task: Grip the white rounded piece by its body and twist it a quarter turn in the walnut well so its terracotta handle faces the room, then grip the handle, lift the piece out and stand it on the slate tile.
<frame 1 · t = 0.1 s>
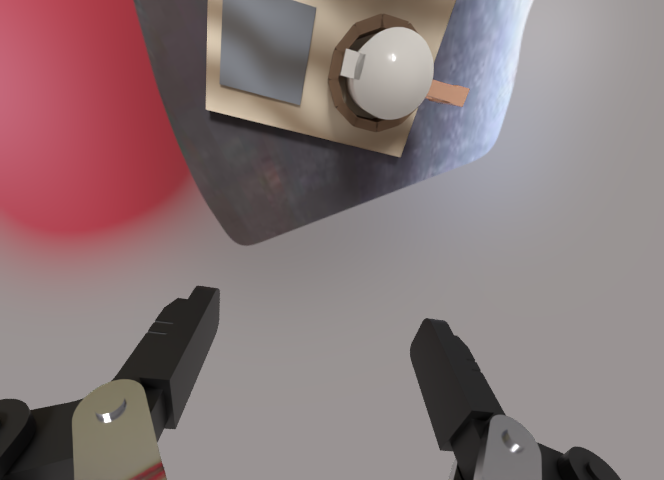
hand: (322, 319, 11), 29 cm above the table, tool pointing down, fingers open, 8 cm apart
serving board: (323, 54, 31), on the table
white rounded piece: (373, 78, 31), point 1 cm above the table, touching serving board
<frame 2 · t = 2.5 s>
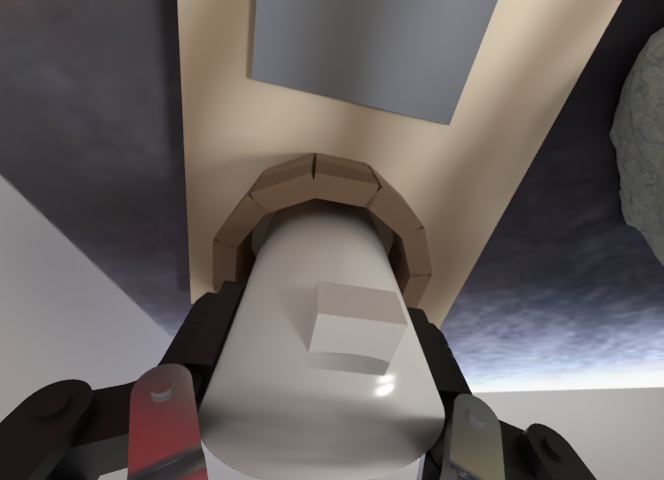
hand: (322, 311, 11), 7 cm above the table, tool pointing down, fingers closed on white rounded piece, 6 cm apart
serving board: (363, 137, 14), on the table
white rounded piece: (322, 243, 16), point 1 cm above the table, touching gripper, serving board
when the fingers open (7 cm above the table, at t = 5.8 s): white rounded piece stays where it is, resting on serving board.
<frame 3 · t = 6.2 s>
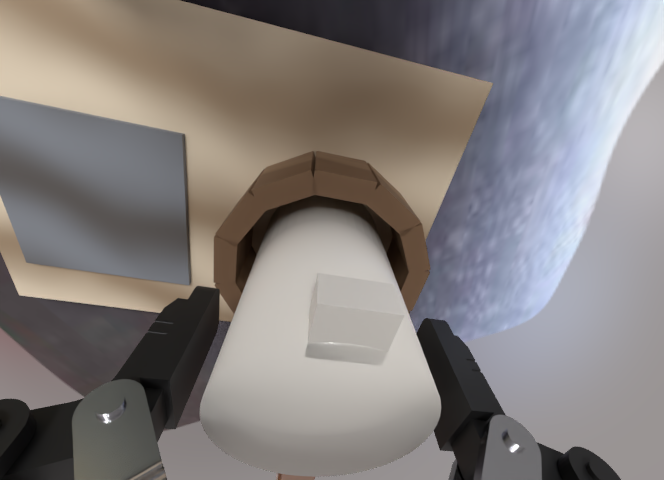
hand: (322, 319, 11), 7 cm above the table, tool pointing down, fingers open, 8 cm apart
serving board: (223, 198, 16), on the table
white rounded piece: (322, 240, 16), point 1 cm above the table, touching serving board
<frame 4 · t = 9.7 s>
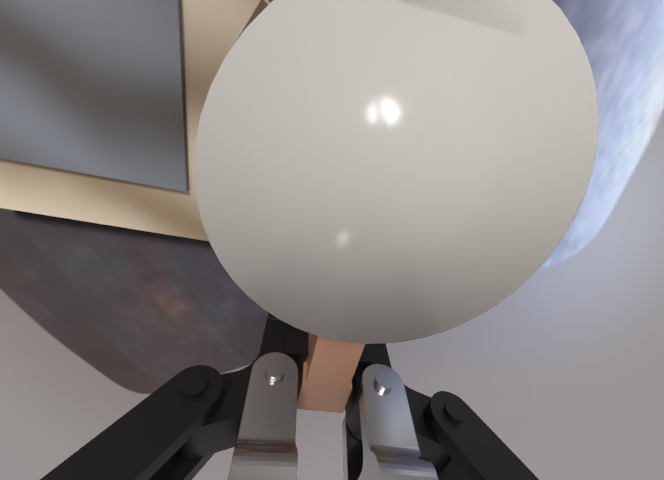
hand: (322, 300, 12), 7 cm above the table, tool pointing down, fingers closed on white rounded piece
serving board: (227, 79, 13), on the table
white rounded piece: (346, 131, 13), point 1 cm above the table, touching gripper
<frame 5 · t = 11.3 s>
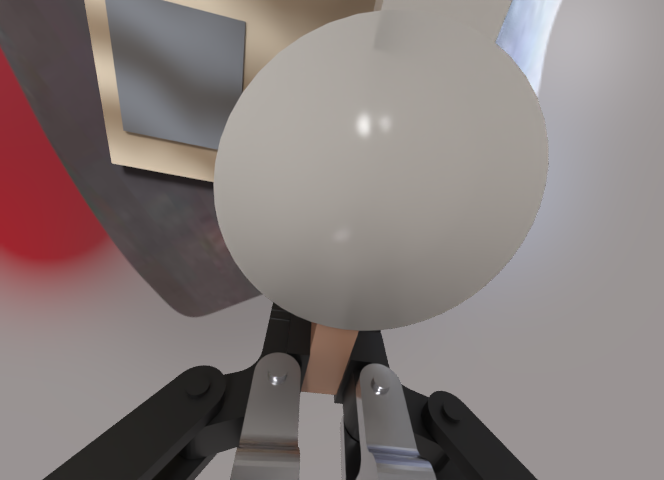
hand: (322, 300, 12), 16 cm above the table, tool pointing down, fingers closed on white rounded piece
serving board: (266, 84, 22), on the table
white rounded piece: (344, 136, 14), point 10 cm above the table, touching gripper
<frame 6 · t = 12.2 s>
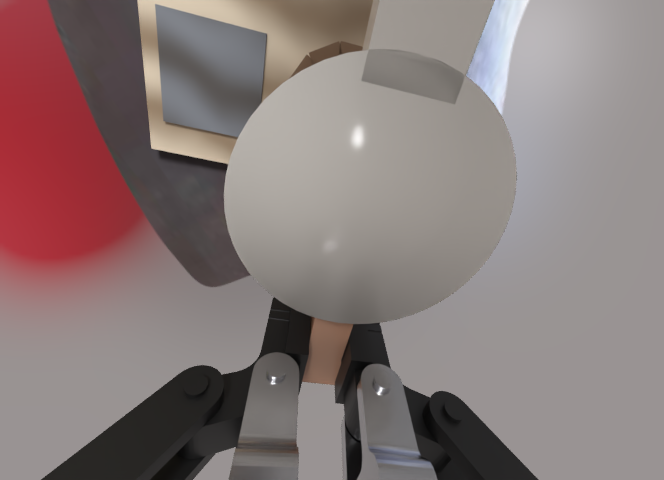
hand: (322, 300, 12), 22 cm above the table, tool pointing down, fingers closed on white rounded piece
serving board: (281, 83, 27), on the table
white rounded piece: (341, 142, 15), point 15 cm above the table, touching gripper
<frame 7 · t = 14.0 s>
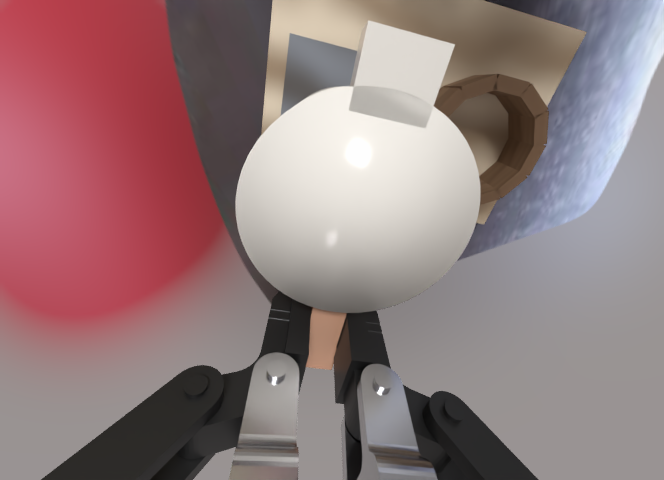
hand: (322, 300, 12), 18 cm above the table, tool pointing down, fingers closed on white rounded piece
serving board: (401, 112, 25), on the table
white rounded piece: (338, 149, 16), point 11 cm above the table, touching gripper
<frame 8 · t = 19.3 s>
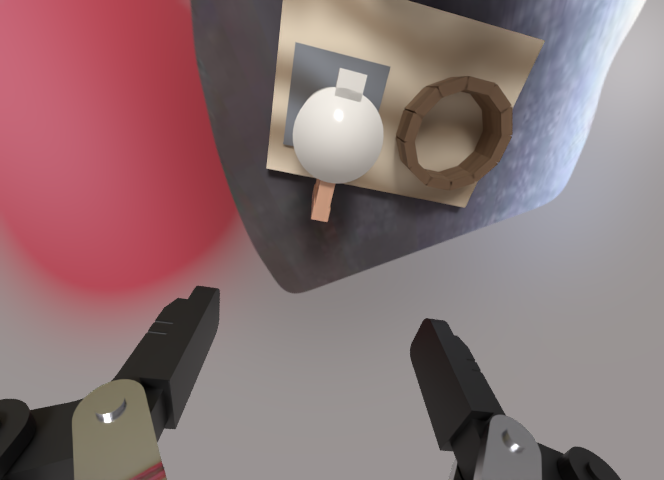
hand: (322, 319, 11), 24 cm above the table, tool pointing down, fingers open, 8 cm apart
serving board: (390, 109, 29), on the table
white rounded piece: (331, 122, 28), point 2 cm above the table, touching serving board
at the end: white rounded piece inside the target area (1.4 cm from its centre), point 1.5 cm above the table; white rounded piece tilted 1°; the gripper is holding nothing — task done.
